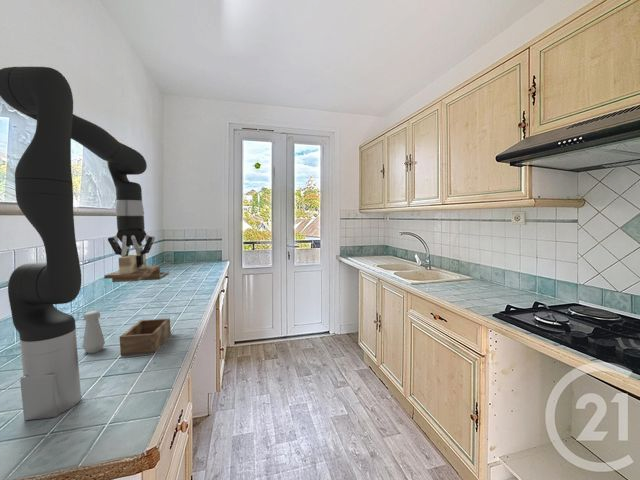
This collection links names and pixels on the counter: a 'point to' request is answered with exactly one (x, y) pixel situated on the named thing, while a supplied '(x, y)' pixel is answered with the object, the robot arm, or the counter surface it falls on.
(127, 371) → the counter surface
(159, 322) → the toolbox
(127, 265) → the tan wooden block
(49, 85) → the robot arm
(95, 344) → the salt shaker
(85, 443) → the counter surface
